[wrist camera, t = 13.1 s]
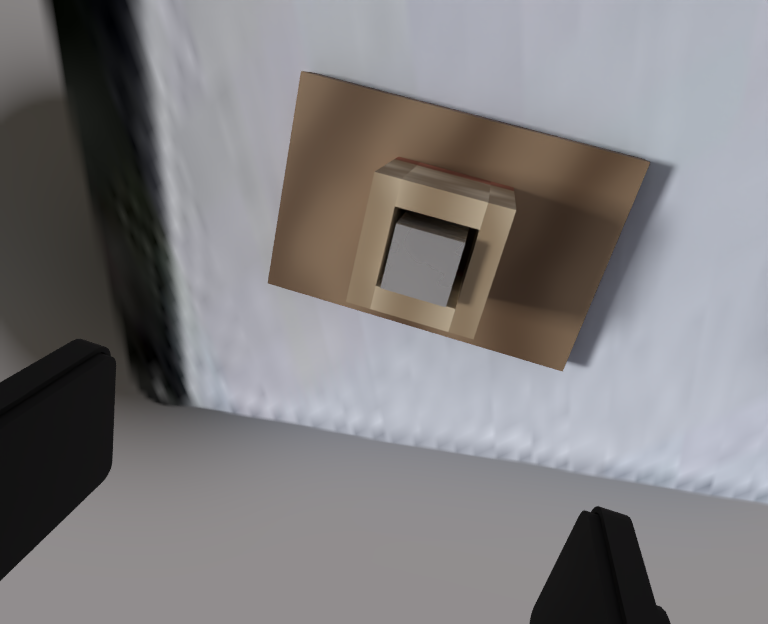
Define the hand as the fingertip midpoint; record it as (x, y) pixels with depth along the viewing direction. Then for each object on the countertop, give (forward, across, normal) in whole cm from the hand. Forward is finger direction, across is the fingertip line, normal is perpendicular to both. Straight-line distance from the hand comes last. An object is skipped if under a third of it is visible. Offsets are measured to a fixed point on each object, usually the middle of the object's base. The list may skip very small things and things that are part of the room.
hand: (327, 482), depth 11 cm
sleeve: (+21, 0, 0) cm, 21 cm away
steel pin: (+21, 0, 0) cm, 21 cm away
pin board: (+23, 0, 0) cm, 23 cm away
